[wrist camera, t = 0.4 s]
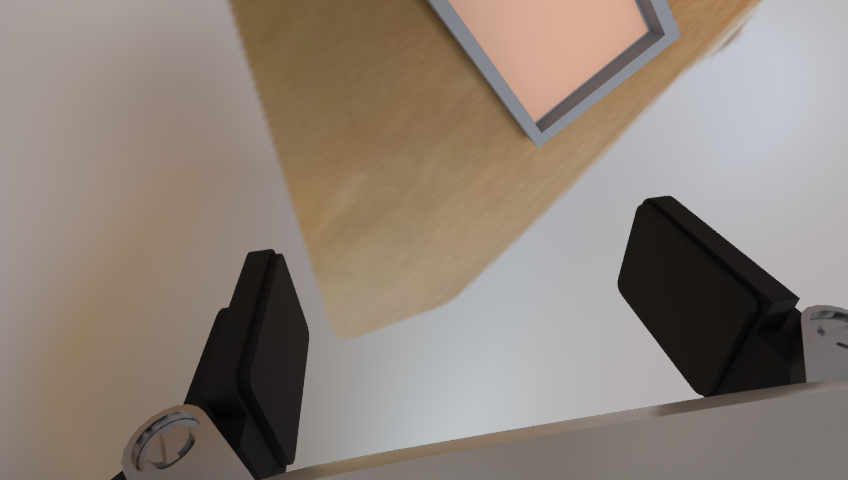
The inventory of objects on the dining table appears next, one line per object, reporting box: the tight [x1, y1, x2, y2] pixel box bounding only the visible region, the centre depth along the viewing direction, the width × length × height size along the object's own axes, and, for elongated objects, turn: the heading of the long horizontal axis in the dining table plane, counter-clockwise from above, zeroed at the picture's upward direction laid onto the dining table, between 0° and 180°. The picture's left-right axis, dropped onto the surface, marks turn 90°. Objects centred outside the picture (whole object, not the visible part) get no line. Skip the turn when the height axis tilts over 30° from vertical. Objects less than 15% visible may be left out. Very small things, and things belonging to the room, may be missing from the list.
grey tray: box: [427, 0, 681, 148], centre depth 33 cm, size 14×17×3 cm
